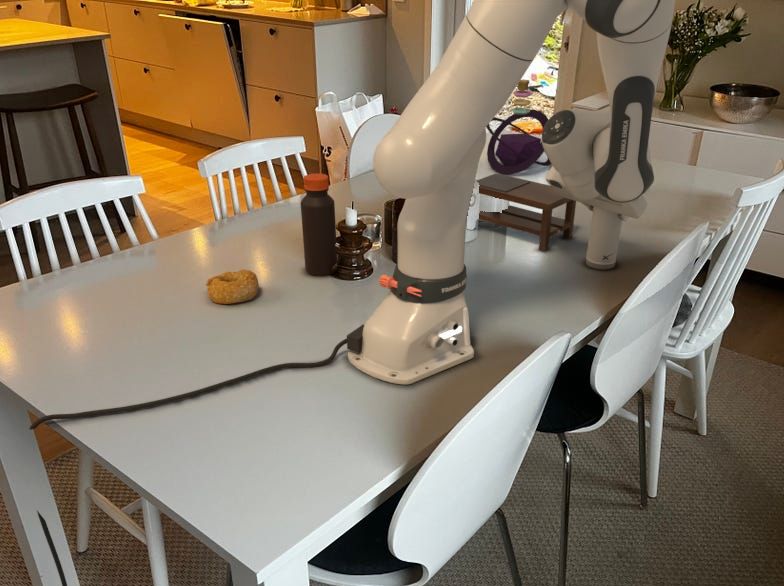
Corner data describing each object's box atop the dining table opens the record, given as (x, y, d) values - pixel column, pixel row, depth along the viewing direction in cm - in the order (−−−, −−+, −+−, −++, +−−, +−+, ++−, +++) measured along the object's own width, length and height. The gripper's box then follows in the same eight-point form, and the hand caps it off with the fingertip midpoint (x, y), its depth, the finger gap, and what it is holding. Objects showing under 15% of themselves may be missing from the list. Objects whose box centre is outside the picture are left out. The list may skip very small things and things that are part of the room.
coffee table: (544, 252, 167) (549, 203, 162) (466, 229, 179) (468, 183, 174) (571, 237, 175) (577, 190, 169) (495, 216, 187) (497, 172, 182)
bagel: (239, 279, 153) (236, 258, 151) (270, 296, 146) (268, 274, 144) (196, 294, 147) (192, 271, 145) (226, 312, 140) (223, 289, 138)
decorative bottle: (466, 165, 227) (469, 78, 215) (512, 153, 239) (518, 71, 227) (521, 181, 213) (528, 90, 200) (567, 168, 225) (577, 81, 212)
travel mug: (610, 272, 158) (625, 179, 147) (581, 265, 160) (594, 174, 150) (620, 262, 162) (635, 172, 152) (591, 256, 165) (604, 166, 155)
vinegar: (344, 270, 158) (340, 176, 148) (319, 279, 153) (313, 184, 143) (323, 261, 162) (317, 169, 152) (298, 270, 157) (291, 176, 147)
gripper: (641, 173, 139) (661, 212, 150) (554, 152, 152) (578, 189, 163) (624, 202, 139) (645, 239, 149) (538, 177, 151) (563, 213, 162)
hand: (609, 212), depth 156 cm, fingers closed on travel mug, 6 cm apart
